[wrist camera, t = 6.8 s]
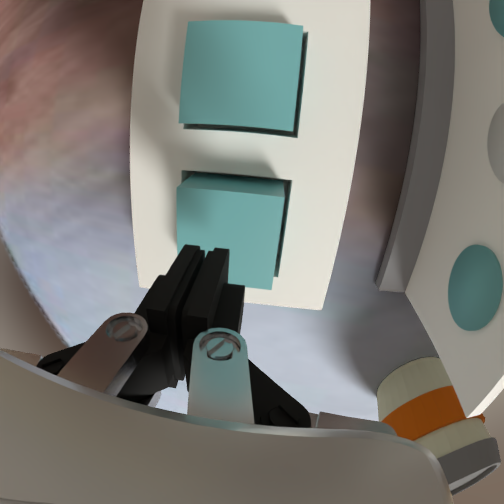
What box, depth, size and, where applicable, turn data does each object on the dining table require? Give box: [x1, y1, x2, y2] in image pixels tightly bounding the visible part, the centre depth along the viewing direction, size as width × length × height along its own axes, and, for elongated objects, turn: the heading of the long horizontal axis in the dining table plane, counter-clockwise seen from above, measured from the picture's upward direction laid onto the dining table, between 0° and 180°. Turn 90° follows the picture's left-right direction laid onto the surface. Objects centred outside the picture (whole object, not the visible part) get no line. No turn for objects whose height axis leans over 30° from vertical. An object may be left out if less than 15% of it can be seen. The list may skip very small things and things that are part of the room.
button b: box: [179, 20, 303, 131], centre depth 12 cm, size 5×5×3 cm
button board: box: [130, 0, 370, 310], centre depth 14 cm, size 12×26×4 cm, turn 175°
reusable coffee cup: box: [377, 357, 501, 496], centre depth 20 cm, size 13×12×15 cm
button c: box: [176, 173, 285, 290], centre depth 16 cm, size 5×5×3 cm
